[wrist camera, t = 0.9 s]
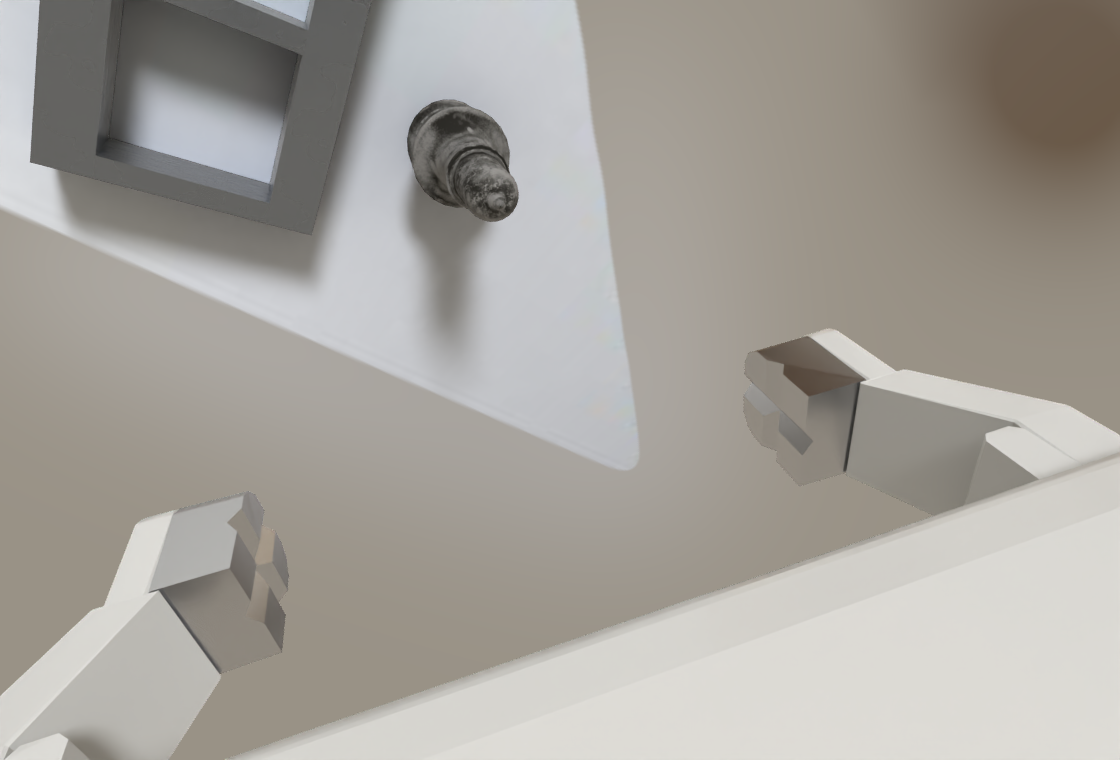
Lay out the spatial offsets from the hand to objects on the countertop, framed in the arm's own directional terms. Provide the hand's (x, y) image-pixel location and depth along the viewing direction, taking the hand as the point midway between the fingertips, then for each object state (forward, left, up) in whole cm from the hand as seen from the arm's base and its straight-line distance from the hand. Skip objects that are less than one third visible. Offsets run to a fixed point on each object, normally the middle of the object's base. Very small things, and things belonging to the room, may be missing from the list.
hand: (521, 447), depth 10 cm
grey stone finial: (+7, -1, -34) cm, 35 cm away
